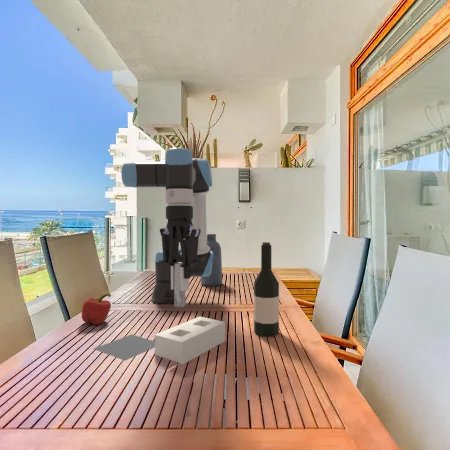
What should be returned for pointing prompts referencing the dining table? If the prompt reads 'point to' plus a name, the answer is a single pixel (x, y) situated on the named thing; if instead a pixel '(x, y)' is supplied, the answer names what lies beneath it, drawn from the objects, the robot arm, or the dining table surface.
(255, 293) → the wine bottle
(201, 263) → the robot arm
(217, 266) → the blue-grey bottle
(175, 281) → the peg
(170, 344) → the block
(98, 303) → the vegetable
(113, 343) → the mat
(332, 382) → the dining table surface
